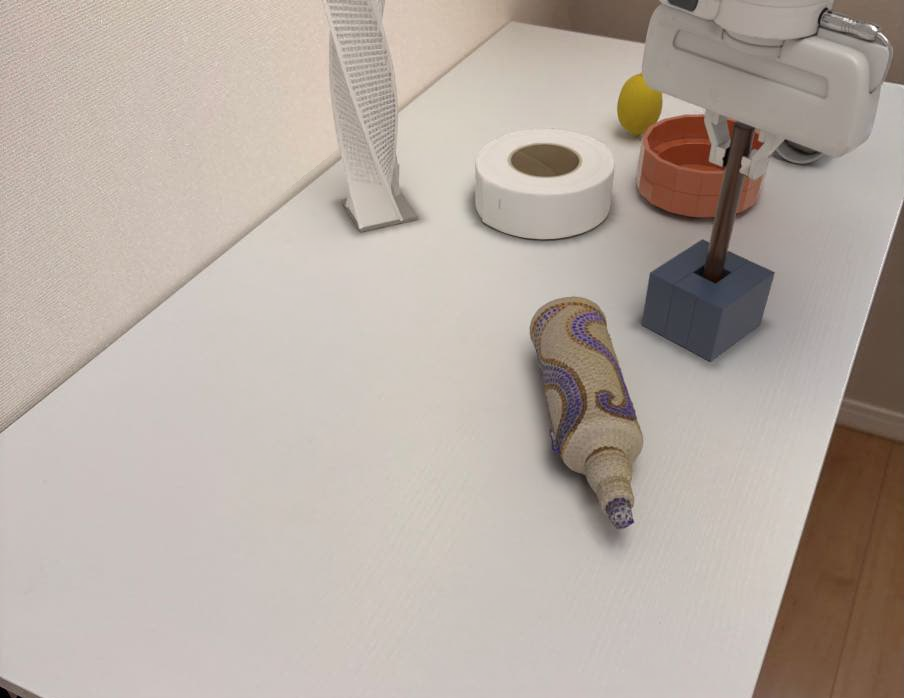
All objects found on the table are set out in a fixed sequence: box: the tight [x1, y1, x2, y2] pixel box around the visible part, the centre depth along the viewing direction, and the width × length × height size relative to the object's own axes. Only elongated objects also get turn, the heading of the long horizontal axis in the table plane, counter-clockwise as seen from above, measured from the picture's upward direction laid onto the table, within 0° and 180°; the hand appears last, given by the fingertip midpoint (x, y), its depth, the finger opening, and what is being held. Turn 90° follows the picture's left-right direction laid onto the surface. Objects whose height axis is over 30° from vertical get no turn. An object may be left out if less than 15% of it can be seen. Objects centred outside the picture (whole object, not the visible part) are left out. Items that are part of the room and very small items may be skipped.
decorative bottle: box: [529, 295, 644, 530], centre depth 80 cm, size 26×8×7 cm, turn 4°
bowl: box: [635, 113, 771, 219], centre depth 109 cm, size 14×14×6 cm
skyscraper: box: [321, 0, 419, 233], centre depth 98 cm, size 8×8×28 cm
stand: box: [641, 238, 776, 363], centre depth 91 cm, size 8×8×6 cm
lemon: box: [616, 71, 664, 138], centre depth 117 cm, size 6×6×8 cm
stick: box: [702, 121, 756, 284], centre depth 86 cm, size 2×2×20 cm
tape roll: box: [474, 128, 616, 240], centre depth 107 cm, size 16×16×6 cm
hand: (735, 168), depth 82 cm, fingers closed on stick, 2 cm apart
